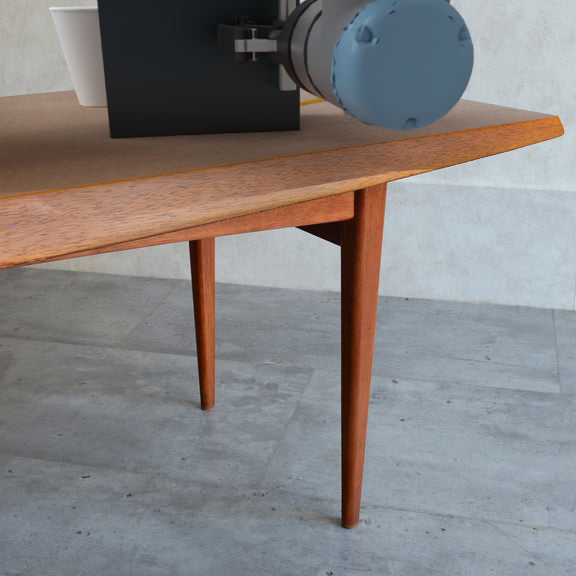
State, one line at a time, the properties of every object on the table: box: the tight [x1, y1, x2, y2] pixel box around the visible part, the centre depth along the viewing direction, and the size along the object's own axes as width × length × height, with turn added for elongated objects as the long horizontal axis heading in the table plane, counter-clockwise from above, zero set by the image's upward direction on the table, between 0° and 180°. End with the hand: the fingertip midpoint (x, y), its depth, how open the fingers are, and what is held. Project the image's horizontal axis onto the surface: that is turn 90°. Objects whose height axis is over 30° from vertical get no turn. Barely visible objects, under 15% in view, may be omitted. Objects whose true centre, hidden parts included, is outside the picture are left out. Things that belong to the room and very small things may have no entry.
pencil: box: [300, 97, 327, 106], centre depth 100 cm, size 1×13×1 cm, turn 139°
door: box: [96, 0, 301, 139], centre depth 71 cm, size 7×20×20 cm, turn 102°
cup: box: [48, 5, 107, 108], centre depth 99 cm, size 12×12×12 cm
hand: (277, 34), depth 74 cm, fingers open, 7 cm apart
